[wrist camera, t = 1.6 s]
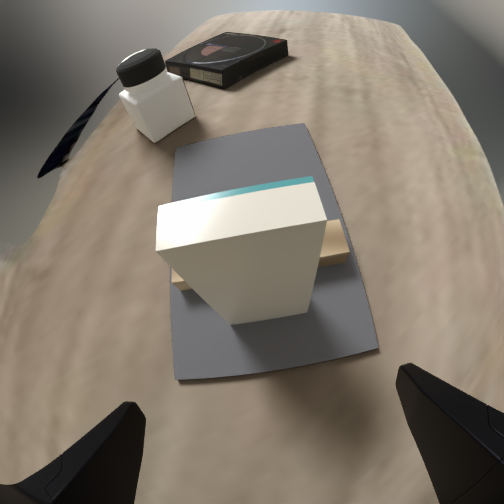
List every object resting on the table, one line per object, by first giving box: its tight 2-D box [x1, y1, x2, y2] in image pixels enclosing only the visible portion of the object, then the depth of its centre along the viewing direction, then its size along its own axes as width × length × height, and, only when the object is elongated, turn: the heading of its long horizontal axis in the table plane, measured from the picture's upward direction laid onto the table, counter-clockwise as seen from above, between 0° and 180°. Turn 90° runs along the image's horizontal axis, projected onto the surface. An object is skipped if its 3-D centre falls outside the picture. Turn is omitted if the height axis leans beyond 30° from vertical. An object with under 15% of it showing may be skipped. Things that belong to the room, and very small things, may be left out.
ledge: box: [172, 219, 350, 291], centre depth 22 cm, size 3×14×2 cm, turn 97°
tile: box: [156, 176, 327, 325], centre depth 15 cm, size 2×6×13 cm, turn 97°
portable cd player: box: [165, 32, 288, 89], centre depth 41 cm, size 16×17×4 cm
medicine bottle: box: [116, 49, 195, 143], centre depth 30 cm, size 7×7×12 cm
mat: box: [170, 123, 379, 380], centre depth 25 cm, size 26×16×1 cm, turn 7°
